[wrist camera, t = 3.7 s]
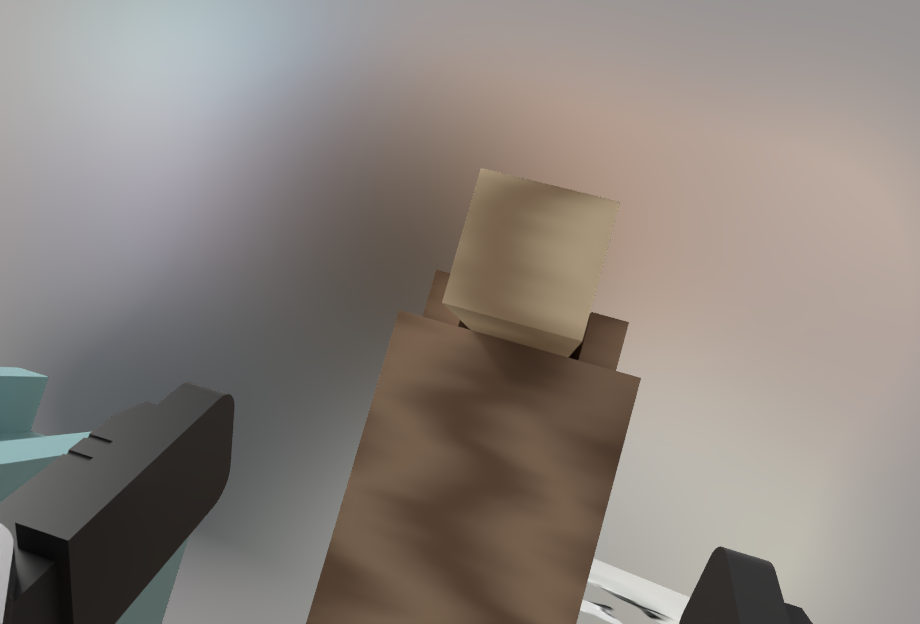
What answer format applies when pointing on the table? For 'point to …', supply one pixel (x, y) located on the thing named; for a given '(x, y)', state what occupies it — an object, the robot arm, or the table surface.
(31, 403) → the teal tall block
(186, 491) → the robot arm
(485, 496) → the walnut stand
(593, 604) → the table surface
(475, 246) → the oak block
